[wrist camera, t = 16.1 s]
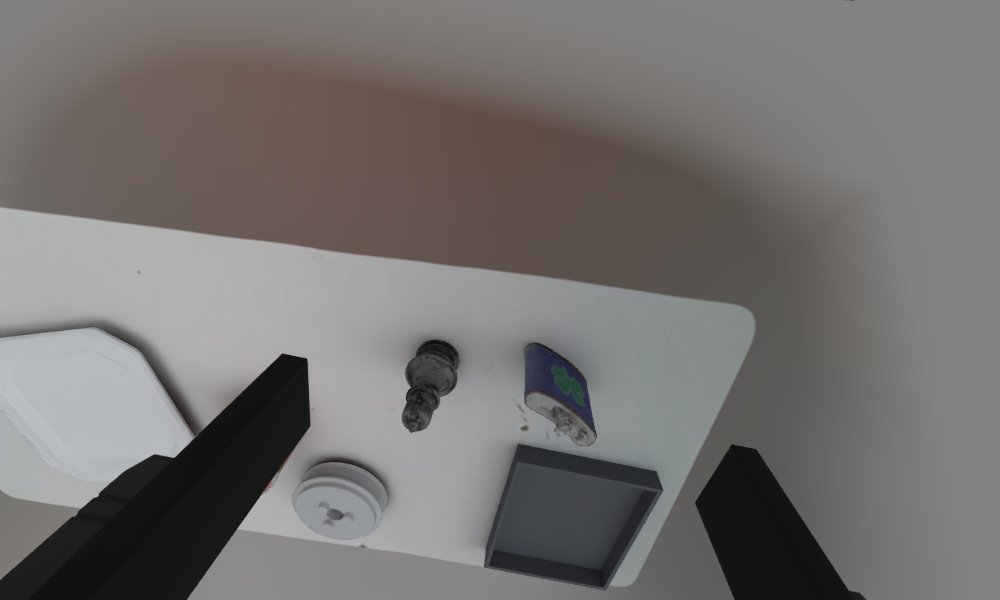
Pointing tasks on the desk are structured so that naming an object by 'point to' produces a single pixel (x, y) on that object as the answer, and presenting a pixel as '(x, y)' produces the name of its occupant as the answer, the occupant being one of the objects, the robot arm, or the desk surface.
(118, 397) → the plate
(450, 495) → the desk surface
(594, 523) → the tray
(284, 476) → the desk surface
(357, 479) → the grey pulley wheel
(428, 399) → the chess piece
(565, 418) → the flask
